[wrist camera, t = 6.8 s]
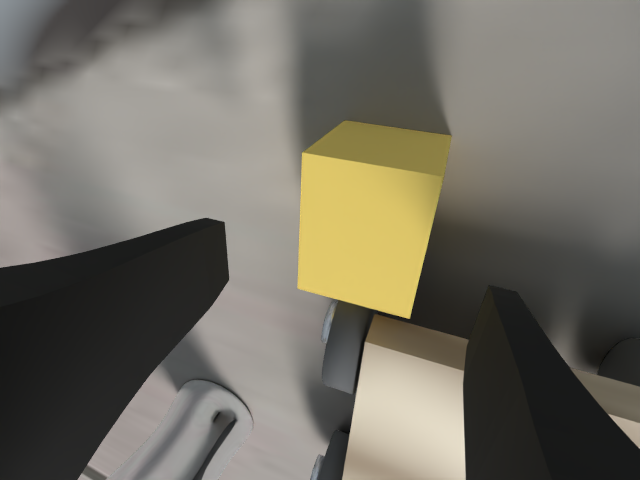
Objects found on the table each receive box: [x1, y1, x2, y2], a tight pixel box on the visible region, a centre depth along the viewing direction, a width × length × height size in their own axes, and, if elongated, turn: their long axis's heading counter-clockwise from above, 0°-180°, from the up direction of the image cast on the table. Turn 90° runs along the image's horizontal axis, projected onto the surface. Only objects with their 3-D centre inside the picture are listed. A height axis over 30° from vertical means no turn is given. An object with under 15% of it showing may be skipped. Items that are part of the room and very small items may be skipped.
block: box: [298, 120, 452, 319], centre depth 14 cm, size 5×4×4 cm
